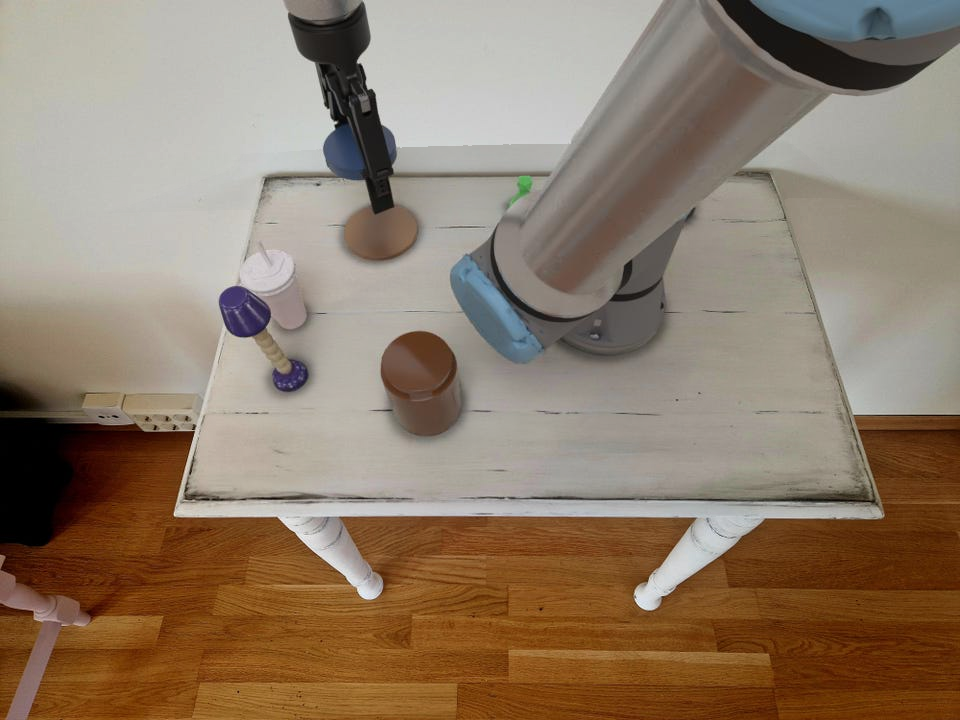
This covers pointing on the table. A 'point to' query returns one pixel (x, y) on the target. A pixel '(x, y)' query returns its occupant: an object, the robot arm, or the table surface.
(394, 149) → the jar lid
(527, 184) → the game piece
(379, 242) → the coaster
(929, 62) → the robot arm
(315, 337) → the table surface
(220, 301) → the toy lamp
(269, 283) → the smoothie
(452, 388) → the jar
